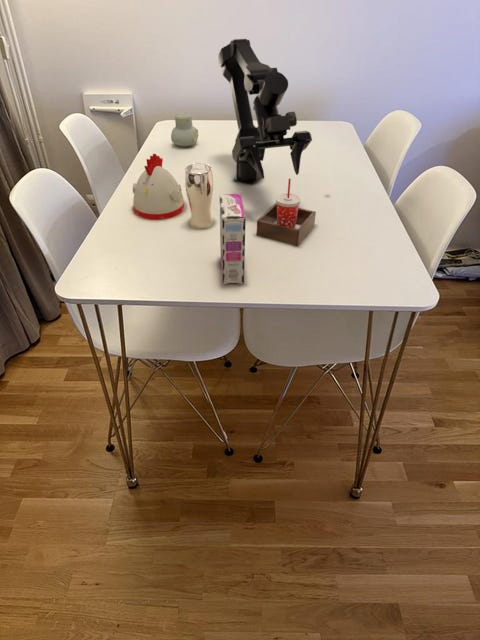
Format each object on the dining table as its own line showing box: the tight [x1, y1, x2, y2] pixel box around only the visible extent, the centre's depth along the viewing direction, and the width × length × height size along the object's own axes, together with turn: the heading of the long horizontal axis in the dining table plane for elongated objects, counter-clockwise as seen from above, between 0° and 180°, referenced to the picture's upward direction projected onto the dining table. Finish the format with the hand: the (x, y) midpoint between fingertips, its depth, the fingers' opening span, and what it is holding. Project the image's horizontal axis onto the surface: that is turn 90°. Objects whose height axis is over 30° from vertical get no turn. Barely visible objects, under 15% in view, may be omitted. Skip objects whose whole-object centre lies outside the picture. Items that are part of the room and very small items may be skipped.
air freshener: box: [170, 112, 199, 147], centre depth 164 cm, size 11×8×10 cm
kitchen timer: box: [132, 153, 185, 221], centre depth 124 cm, size 14×14×15 cm
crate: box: [256, 202, 317, 247], centre depth 118 cm, size 11×11×4 cm
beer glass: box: [184, 162, 214, 230], centre depth 118 cm, size 7×7×15 cm
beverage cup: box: [275, 178, 302, 229], centre depth 115 cm, size 6×6×14 cm
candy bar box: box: [219, 193, 247, 286], centre depth 100 cm, size 11×5×16 cm, turn 5°
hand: (280, 176), depth 116 cm, fingers open, 9 cm apart
